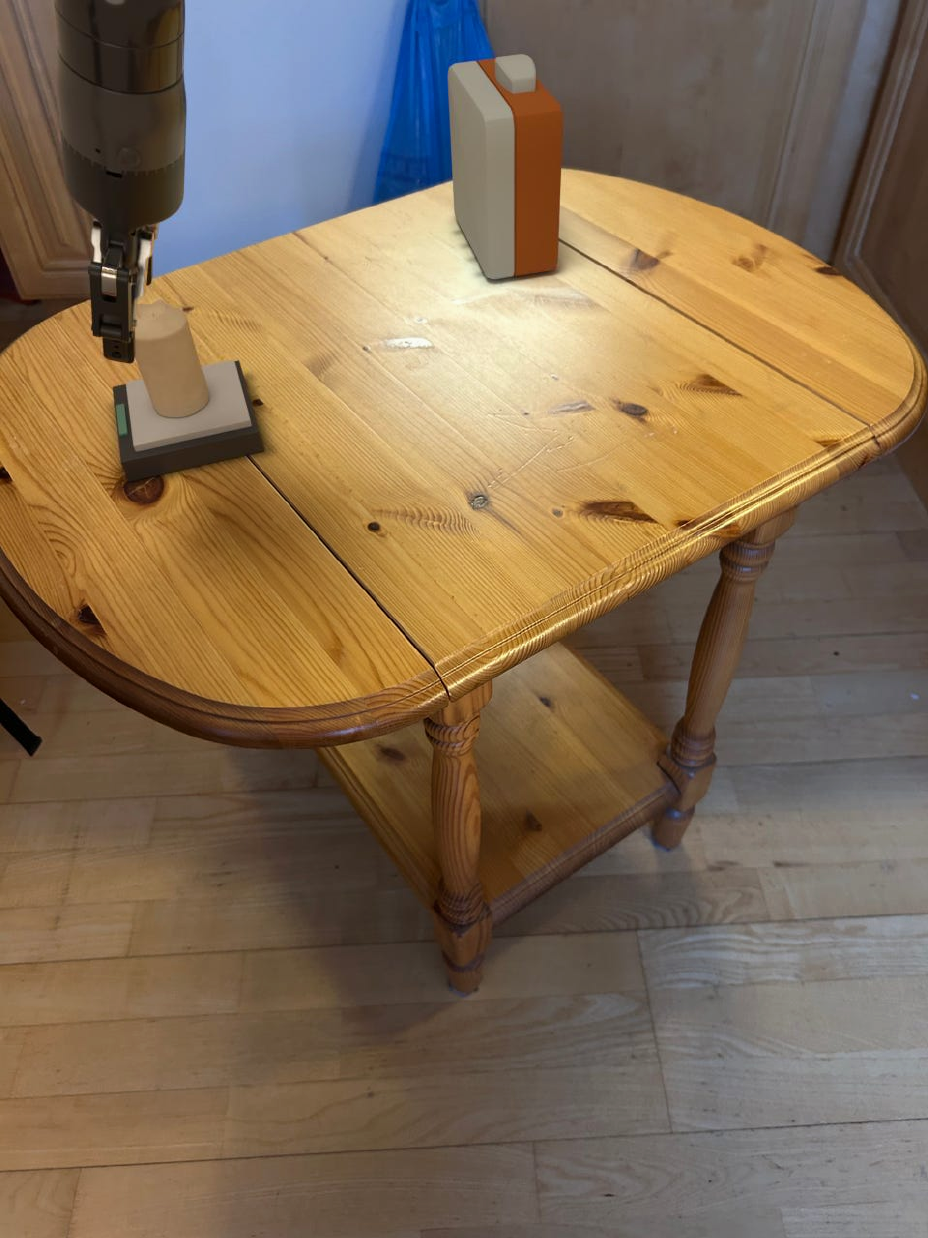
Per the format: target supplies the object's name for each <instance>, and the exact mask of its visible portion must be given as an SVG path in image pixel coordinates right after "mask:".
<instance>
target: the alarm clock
mask: <svg viewBox="0 0 928 1238" xmlns="http://www.w3.org/2000/svg"><path fill="white" fill-rule="evenodd" d="M447 90H448V91H447V93H448V107H449V108H448V113H449V130H450V131H449V132H450V151H451V152H450V153H451V169H452V170H451V172H452V191H453V193H452V195H453V209H454V217H455V218H456V221H457V223H458V224H459V226H460V229H461V231H462V232H463V234H464V236H465V238H466V240H467V242H468V244H469V246H470V248H471V251H472V252H473V254H474V255H475V258H476V260H477V262H478V263H479V265H480V268H481V269H482V271H483V273H484V276H485V277H486V279H491V280H499V279H503V278H511V277H517V276H524V275H530V274H536V273H542V272H549V271H553V270H554V269H556V268H557V265H558V260H559V239H560V236H559V235H560V214H561V213H560V212H561V186H562V185H561V183H562V161H563V160H562V159H563V134H564V133H563V132H564V114H563V111H562V108H561V105H560V103H559V101H557V99H556V98H555V97H554V95H552V93H550V91H549V90H548V88H547V87H545V85H544V84H543V83H542V81H541V80H540V79H539V78H538V77H537V70H536V65H535V62H534V61H533V59H532V58H531V57H530V56H529V55H527V54H522V53H520V54H518V53H517V54H512V55H503V56H497V57H494V58H487V59H480V60H479V59H478V60H470V61H464V62H457V63H456V62H455V63H453V64H452V65H450V66H449V67H448V71H447Z"/></svg>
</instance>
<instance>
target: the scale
mask: <svg viewBox="0 0 928 1238" xmlns="http://www.w3.org/2000/svg"><path fill="white" fill-rule="evenodd" d="M201 367H202V371H203V374H204V377H205V381H206V384H207V388H208V391H209V401H208V403H207V404H206V406H205V407H204V408H202V409H201V410H200V411H198V412H196V413H194V414H191V415H188V416H185V417H178V418H171V417H165V416H162V415H160V414H158V413H157V412H156V411H155V409H154V407H153V405H152V403H151V400H150V397H149V394H148V392H147V389H146V386H145V383H144V381H143V378H139V379H133V380H129V381H126V382H125V383H122V384H118V385H113V386H112V394H113V403H114V404H113V405H114V415H115V423H116V434H117V443H118V449H119V460H120V465H121V467H122V469H123V471H124V474H125V476H126V479H127V481H128V482H129V483H130V482H134V481H139V480H143V479H149V478H152V477H157V476H161V475H166V474H171V473H175V472H179V471H184V470H187V469H192V468H197V467H201V466H206V465H209V464H215V463H219V462H223V461H227V460H232V459H236V458H241V457H245V456H249V455H253V454H258V453H261V452H262V453H263V452H265V448H264V444H263V441H262V436H261V433H260V429H259V426H258V422H257V419H256V415H255V412H254V408H253V404H252V401H251V398H250V394H249V390H248V387H247V384H246V379H245V376H244V373H243V370H242V369H243V368H242V366H241V362H240V360H239V359H238V360H235V359H229V360H225V361H220V362H215V363H211V364H206V365H201Z"/></svg>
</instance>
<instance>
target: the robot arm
mask: <svg viewBox="0 0 928 1238" xmlns="http://www.w3.org/2000/svg"><path fill="white" fill-rule="evenodd" d="M53 11H54V13H53V15H54V22H55V25H54V26H55V35H56V46H57V47H56V48H57V50H56V51H57V57H56V71H55V72H56V73H55V79H56V80H55V85H56V86H55V89H56V99H57V100H56V101H57V110H58V111H57V112H58V122H59V133H60V144H61V145H60V146H61V155H62V167H63V179H64V183H65V187H66V190H67V191H68V193H69V195H70V196H71V198H72V199H73V200H74V202H75V203H76V204H77V205H78V206H79V207H80V208H82V210H84V211H85V212H87V213H88V214H90V215H91V216H92V217H93V219H92V223H91V235H90V243H91V245H92V246H93V248H94V249H93V250H94V251H93V260H91V261H90V264H89V265H88V266H87V274H88V277H89V296H90V314H91V315H90V316H91V325H90V331H92V332H91V333H92V337H95V338H101V339H102V340H101V341H102V353H103V357H104V358H105V359H106V360H108V361H114V362H118V363H123V364H129V365H130V364H133V363H134V362H135V360H136V358H135V354H136V347H135V327H137V320H136V312H137V305H138V301H139V299H142V298H143V297H144V296H145V295H146V293H147V286H150V285H151V284H152V281H153V277H154V275H153V267H154V265H153V264H154V263H153V261H154V260H153V259H154V257H153V255H154V254H153V253H154V245H155V244H154V243H155V240H157V239H158V237H159V229H160V223H162V222H164V221H166V220H168V219H169V218H171V217H173V216H174V215H175V214H176V213H177V212H178V211H179V210H180V207H181V206H182V203H183V201H184V196H185V172H186V171H185V169H186V167H185V166H186V140H187V139H186V137H187V112H188V111H187V108H188V107H187V105H188V104H187V91H186V84H185V83H186V82H185V69H184V66H185V42H186V41H185V38H186V0H53Z"/></svg>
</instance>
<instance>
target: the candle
mask: <svg viewBox="0 0 928 1238" xmlns="http://www.w3.org/2000/svg"><path fill="white" fill-rule="evenodd" d="M136 320H137V327H135V347H136V354H135V361H136V364H137V366H138V369H139V371H140V375H141V379H143V381H144V383H145V386H146V389H147V392H148V394H149V397H150V400H151V403H152V405H153V407H154V409H155V411H156V412H157V413H158V414H160V415H162V416H165V417H171V418H178V417H185V416H188V415H191V414H194V413H196V412H198V411H200V410H201V409H202V408H204V407H205V406H206V404H207V403H208V401H209V391H208V388H207V384H206V381H205V377H204V374H203V371H202V367H201V366H202V364H201V361H200V358H199V354H198V351H197V348H196V344H195V341H194V338H193V334H192V331H191V328H190V324H189V321H188V318H187V315H186V313H185V312H184V311H183V310H181V309H180V308H177V307H176V306H173V305H172V304H170V303H168V302H166V301H164V300H163V299H157V300H155V301H153V302H152V303H137V312H136Z"/></svg>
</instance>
